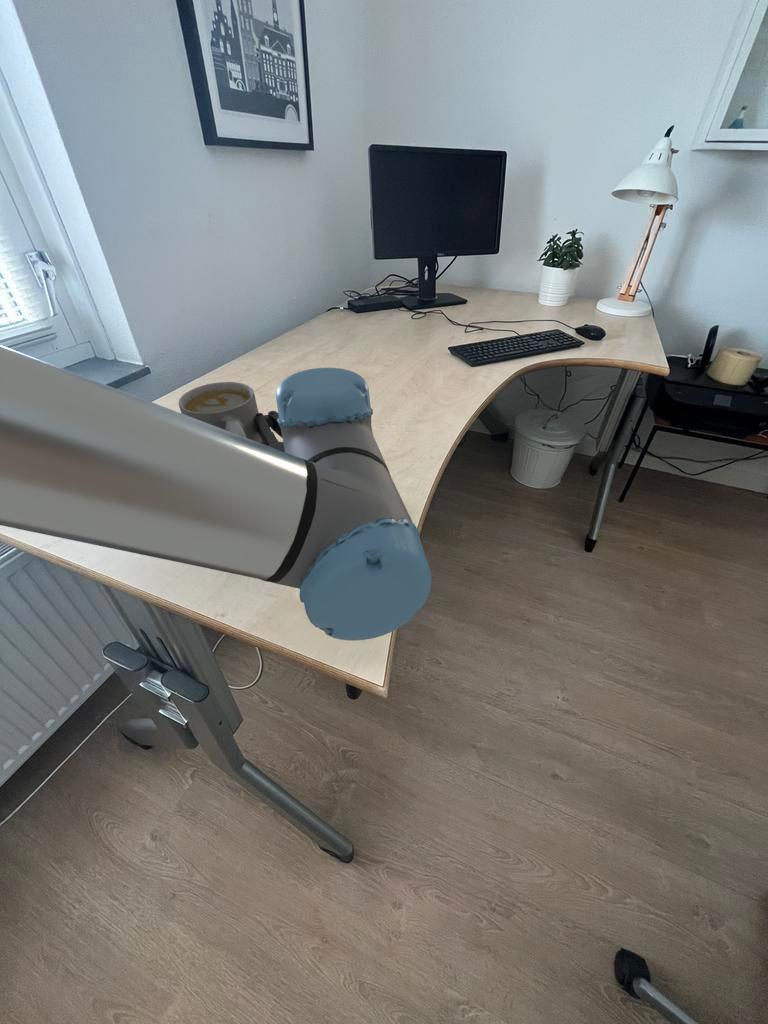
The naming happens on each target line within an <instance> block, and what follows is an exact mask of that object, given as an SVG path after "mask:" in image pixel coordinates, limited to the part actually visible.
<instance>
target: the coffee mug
mask: <svg viewBox="0 0 768 1024" xmlns="http://www.w3.org/2000/svg"><path fill="white" fill-rule="evenodd" d="M178 408H179V410H180V413H182V414H184V415H187V416H189V417H192V418H195V419H197V420H200V421H203V422H205V423H208V424H211V425H213V426H216V427H219V428H221V429H224V430H227V431H229V432H232V433H235V434H237V435H240V436H243V437H245V438H248V439H251V440H253V441H256V442H259V443H261V442H263V441H262V439H261V437H260V435H259V433H258V426H257V422H256V420H255V416H256V414H257V413H259V408H258V403H257V400H256V395H255V390H254V389H253V388H252V387H251V386H250V385H248V384H245V383H243V382H236V381H219V382H212V383H207V384H206V383H205V384H203V385H200V386H196V387H194V388H192V389H190V390H188V391H186V392H185V393H184V394H183V395H181V397H180V398H179V399H178Z"/></svg>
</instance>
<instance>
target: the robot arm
mask: <svg viewBox="0 0 768 1024" xmlns="http://www.w3.org/2000/svg"><path fill="white" fill-rule="evenodd" d="M275 400H276V407H277V410H270V411H268V412H267V414H264V413H262V412H258V413H257V414H256V416H255V420H256V422H257V426H258V433H259V435H260V437H261V439H262V441H263V442H261V443H259V442H256V441H253V440H251V439H248V438H245V437H243V436H240V435H237V434H235V433H232V432H229V431H227V430H224V429H221V428H219V427H216V426H213V425H211V424H208V423H205V422H203V421H200V420H197V419H195V418H192V417H189V416H187V415H184V414H182V413H181V412H179V411H176V410H173V409H171V408H168V407H165V406H163V405H160V404H157V403H155V402H152V401H150V400H147V399H144V398H141V397H138V396H136V395H134V394H131V393H128V392H126V391H123V390H120V389H118V388H114V387H113V386H110V385H107V384H105V383H101V382H99V381H96V380H94V379H91V378H88V377H86V376H83V375H80V374H77V373H75V372H74V371H73V372H72V371H70V370H68V369H64V368H62V367H60V366H56V365H54V364H52V363H49V362H46V361H43V360H40V359H38V358H36V357H32V356H30V355H27V354H25V353H22V352H20V351H17V350H14V349H12V348H9V347H6V346H3V345H1V344H0V526H3V527H7V528H11V529H15V530H16V529H17V530H21V531H26V532H29V533H30V532H31V533H35V534H41V535H45V536H50V537H56V538H59V539H64V540H69V541H75V542H79V543H85V544H88V545H93V546H99V547H103V548H107V549H113V550H117V551H123V552H127V553H132V554H137V555H141V556H146V557H150V558H156V559H160V560H166V561H171V562H176V563H180V564H185V565H190V566H195V567H199V568H204V569H209V570H214V571H217V572H218V571H219V572H223V573H228V574H232V575H237V576H243V577H248V578H252V579H257V580H260V581H262V582H266V583H267V582H268V583H272V584H276V585H281V586H285V587H289V588H294V589H298V590H299V601H300V602H301V603H303V605H304V610H305V613H306V616H307V619H308V620H309V622H310V623H311V624H312V625H313V626H314V627H315V628H317V629H319V630H321V631H322V632H324V633H325V635H326V636H328V637H331V638H333V639H336V640H341V641H352V642H353V641H365V640H371V639H376V638H380V637H382V636H385V635H388V634H391V633H393V632H394V631H396V630H398V629H400V628H401V627H403V626H405V625H406V624H407V623H408V622H410V621H411V620H412V619H413V618H414V617H415V615H416V613H417V612H419V611H421V608H422V607H424V605H425V604H426V602H427V601H428V598H429V596H430V593H431V589H432V580H433V579H432V571H431V568H430V564H429V562H428V560H427V556H426V553H425V550H424V547H423V544H422V541H421V535H420V531H419V529H418V527H417V525H416V524H415V523H414V522H413V520H412V518H411V516H410V514H409V512H408V510H407V507H406V505H405V503H404V501H403V499H402V496H401V495H400V492H399V491H398V489H397V486H396V484H395V482H394V479H393V478H392V475H391V472H390V470H389V468H388V466H387V464H386V461H385V458H384V456H383V455H382V452H381V449H380V447H379V445H378V443H377V441H376V438H375V437H374V433H373V428H372V416H373V415H374V409H373V408H372V407H371V398H370V387H369V385H368V383H367V381H366V380H365V378H364V377H363V376H362V375H360V374H358V373H357V372H355V371H352V370H350V369H345V368H342V367H341V368H340V367H339V368H338V367H315V368H309V369H305V370H301V371H297V372H295V373H293V374H291V375H290V376H288V377H286V378H285V379H283V380H282V381H281V382H280V384H279V385H278V386H277V389H276V392H275ZM276 435H278V436H279V437H280V438H281V439H282V441H279V439H277V437H276Z"/></svg>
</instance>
